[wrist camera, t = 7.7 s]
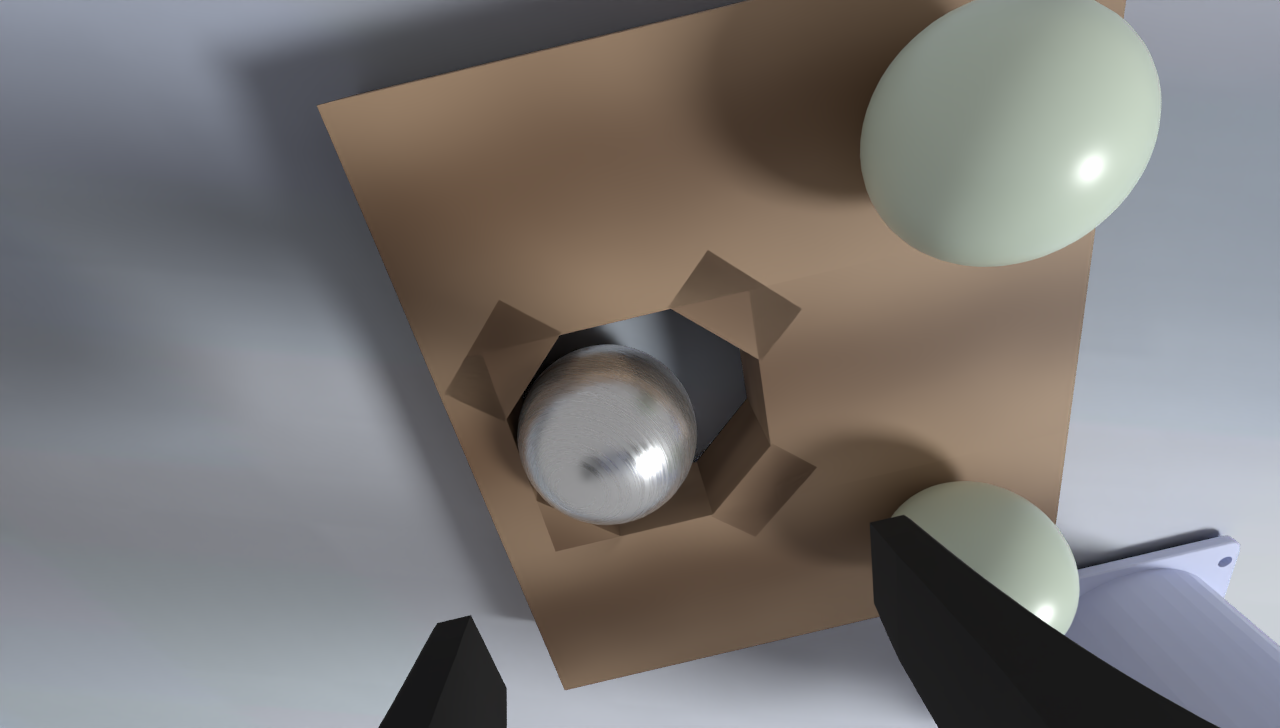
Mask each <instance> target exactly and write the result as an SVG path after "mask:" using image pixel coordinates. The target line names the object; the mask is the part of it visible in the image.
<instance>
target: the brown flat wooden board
mask: <svg viewBox="0 0 1280 728" xmlns="http://www.w3.org/2000/svg"><path fill="white" fill-rule="evenodd" d="M971 1H974V0H747V1H743V2H739V3H734V4H730V5H726V6H722V7H718V8H714V9H710V10H705V11H701V12H697V13H693V14H689V15H685V16H680V17H676V18H672V19H668V20H664V21H660V22H656V23H651V24H647V25H643V26H639V27H635V28H631V29H626V30H622V31H618V32H614V33H610V34H606V35H602V36H597V37H593V38H589V39H585V40H581V41H577V42H572V43H568V44H564V45H560V46H556V47H552V48H548V49H543V50H539V51H535V52H531V53H527V54H523V55H518V56H514V57H510V58H506V59H502V60H498V61H494V62H489V63H485V64H481V65H477V66H473V67H469V68H464V69H460V70H456V71H452V72H448V73H444V74H440V75H435V76H431V77H427V78H423V79H419V80H415V81H410V82H406V83H402V84H398V85H394V86H390V87H386V88H381V89H377V90H373V91H369V92H365V93H361V94H356V95H353V96H349V97H346V98H342V99H338V100H335V101H331V102H328V103H324V104H320V105H317V107H318V110H319V112H320V114H321V117H322V119H323V121H324V124H325V126H326V128H327V131H328V133H329V135H330V138H331V140H332V143H333V145H334V147H335V150H336V152H337V154H338V157H339V159H340V161H341V164H342V166H343V168H344V171H345V173H346V176H347V178H348V180H349V183H350V185H351V187H352V190H353V192H354V194H355V197H356V199H357V201H358V204H359V206H360V209H361V211H362V213H363V216H364V218H365V220H366V223H367V225H368V227H369V230H370V232H371V234H372V237H373V239H374V242H375V244H376V246H377V249H378V251H379V253H380V256H381V258H382V260H383V263H384V265H385V267H386V270H387V272H388V275H389V277H390V279H391V282H392V284H393V286H394V289H395V291H396V293H397V296H398V298H399V301H400V303H401V305H402V308H403V310H404V312H405V315H406V317H407V319H408V322H409V324H410V326H411V329H412V331H413V334H414V336H415V338H416V341H417V343H418V345H419V348H420V350H421V352H422V355H423V357H424V359H425V362H426V364H427V367H428V369H429V371H430V374H431V376H432V378H433V381H434V383H435V385H436V388H437V390H438V392H439V395H440V397H441V400H442V402H443V404H444V407H445V409H446V411H447V414H448V416H449V418H450V421H451V423H452V425H453V428H454V430H455V433H456V435H457V437H458V440H459V442H460V444H461V447H462V449H463V451H464V454H465V456H466V458H467V461H468V463H469V466H470V468H471V470H472V473H473V475H474V477H475V480H476V482H477V484H478V487H479V489H480V492H481V494H482V496H483V499H484V501H485V503H486V506H487V508H488V510H489V513H490V515H491V517H492V520H493V522H494V525H495V527H496V529H497V532H498V534H499V536H500V539H501V541H502V543H503V546H504V548H505V550H506V553H507V555H508V558H509V560H510V562H511V565H512V567H513V569H514V572H515V574H516V576H517V579H518V581H519V583H520V586H521V588H522V591H523V593H524V595H525V598H526V600H527V602H528V605H529V607H530V609H531V612H532V614H533V616H534V619H535V621H536V624H537V626H538V628H539V631H540V633H541V635H542V638H543V640H544V642H545V645H546V647H547V649H548V652H549V654H550V657H551V659H552V661H553V664H554V666H555V668H556V671H557V673H558V675H559V678H560V680H561V683H562V685H563V687H564V690H568V689H572V688H577V687H581V686H585V685H589V684H594V683H598V682H602V681H607V680H611V679H615V678H619V677H624V676H628V675H632V674H636V673H641V672H645V671H649V670H654V669H658V668H662V667H666V666H671V665H675V664H679V663H683V662H688V661H692V660H696V659H701V658H705V657H709V656H713V655H718V654H722V653H726V652H730V651H735V650H739V649H743V648H747V647H752V646H756V645H760V644H765V643H769V642H773V641H777V640H782V639H786V638H790V637H794V636H799V635H803V634H807V633H812V632H816V631H820V630H824V629H829V628H833V627H837V626H841V625H846V624H850V623H854V622H859V621H863V620H867V619H871V618H876V617H880V616H879V614H878V611H877V609H876V607H875V605H874V596H873V577H872V558H871V539H870V522H875V521H879V520H883V519H887V518H891V517H892V515H893V514H894V512H895V511H896V510H897V509H898V508H899V507H900V506H901V505H902V504H903V503H904V502H905V501H906V500H908V499H909V498H910V497H912V496H913V495H915V494H917V493H918V492H920V491H922V490H924V489H926V488H929V487H931V486H934V485H938V484H942V483H947V482H956V481H973V482H981V483H987V484H991V485H995V486H998V487H1001V488H1004V489H1007V490H1009V491H1011V492H1013V493H1015V494H1017V495H1019V496H1021V497H1023V498H1025V499H1026V500H1028V501H1029V502H1031V503H1032V504H1034V505H1035V506H1036V507H1038V508H1039V509H1040V510H1041V511H1042V512H1043V513H1045V514H1046V515H1047V516H1048V517H1049V519H1050V520H1051V521H1052V522H1053V523H1054V524H1055V525H1056V518H1057V511H1058V503H1059V496H1060V488H1061V481H1062V473H1063V466H1064V458H1065V451H1066V443H1067V436H1068V429H1069V421H1070V414H1071V406H1072V399H1073V391H1074V384H1075V376H1076V369H1077V362H1078V354H1079V347H1080V339H1081V332H1082V324H1083V317H1084V309H1085V302H1086V294H1087V287H1088V280H1089V272H1090V265H1091V257H1092V250H1093V242H1094V235H1095V228H1094V229H1093V230H1092V231H1091V232H1089V233H1088V234H1086V235H1085V236H1083V237H1082V238H1080V239H1079V240H1077V241H1075V242H1073V243H1072V244H1070V245H1068V246H1066V247H1064V248H1062V249H1060V250H1058V251H1055V252H1053V253H1051V254H1048V255H1046V256H1043V257H1040V258H1037V259H1034V260H1030V261H1027V262H1022V263H1017V264H1012V265H1006V266H993V267H975V266H964V265H959V264H954V263H950V262H946V261H942V260H939V259H936V258H934V257H931V256H929V255H927V254H924V253H922V252H920V251H918V250H917V249H915V248H913V247H912V246H910V245H908V244H907V243H906V242H905V241H903V240H902V239H901V238H900V237H899V236H897V235H896V234H895V233H894V232H893V231H892V230H891V229H890V228H889V227H888V226H887V225H886V223H885V222H884V221H883V220H882V218H881V217H880V216H879V214H878V212H877V211H876V209H875V207H874V206H873V204H872V202H871V200H870V197H869V195H868V193H867V190H866V187H865V183H864V179H863V175H862V170H861V161H860V140H861V133H862V126H863V122H864V118H865V114H866V110H867V108H868V105H869V102H870V100H871V97H872V95H873V93H874V91H875V89H876V87H877V85H878V83H879V81H880V79H881V77H882V76H883V74H884V73H885V71H886V70H887V68H888V67H889V65H890V64H891V62H892V61H893V60H894V59H895V57H896V56H897V55H898V54H899V53H900V51H901V50H902V49H903V48H904V47H905V46H906V45H907V44H908V43H909V42H910V41H911V40H912V39H913V38H914V37H915V36H917V35H918V34H919V33H920V32H921V31H923V30H924V29H925V28H926V27H928V26H929V25H930V24H931V23H933V22H934V21H936V20H937V19H939V18H940V17H942V16H944V15H945V14H947V13H948V12H950V11H952V10H954V9H956V8H959V7H961V6H963V5H965V4H967V3H969V2H971ZM1095 1H1097V2H1098V3H1100V4H1102V5H1103V6H1105V7H1107V8H1109V9H1110V10H1112V11H1114V12H1115V13H1117V14H1118V15H1119V16H1120V17H1122V18H1123V19H1124V11H1125V4H1126V0H1095ZM668 309H672V310H674V311H676V312H677V313H679V314H681V315H682V316H684V317H686V318H688V319H689V320H691V321H693V322H695V323H696V324H698V325H700V326H702V327H703V328H705V329H707V330H708V331H710V332H712V333H714V334H715V335H717V336H719V337H721V338H722V339H724V340H726V341H728V342H729V343H731V344H733V345H734V346H736V347H738V348H739V349H740V356H741V362H742V369H743V375H744V382H745V388H746V395H747V399H746V400H745V402H744V403H743V404H742V405H741V407H740V408H739V409H738V410H737V412H736V413H735V414H734V415H733V417H732V418H731V419H730V420H729V422H728V423H727V424H726V425H725V427H724V428H723V429H722V430H721V432H720V433H719V434H718V436H717V437H716V438H715V439H714V441H713V442H712V443H711V444H710V446H709V447H708V448H707V449H706V451H705V452H704V453H703V454H702V456H701V457H700V458H699V459H698V461H697V462H693V463H692V465H691V468H690V470H689V472H688V474H687V476H686V478H685V480H684V482H683V483H682V485H681V486H680V488H679V489H678V490H677V492H676V493H675V494H674V495H673V496H672V497H671V498H670V499H669V500H668V501H667V502H666V503H665V504H664V505H662V506H661V507H660V508H658V509H657V510H655V511H654V512H652V513H650V514H648V515H647V516H645V517H642V518H640V519H637V520H634V521H631V522H627V523H623V524H613V525H598V524H591V523H587V522H583V521H579V520H576V519H573V518H571V517H569V516H567V515H565V514H563V513H561V512H560V511H558V510H556V509H555V508H554V507H552V506H551V505H550V504H549V503H548V502H547V501H545V500H544V499H543V498H542V496H541V495H540V494H539V493H538V492H537V491H536V489H535V488H534V487H533V485H532V484H531V482H530V480H529V479H528V477H527V475H526V472H525V470H524V468H523V465H522V462H521V459H520V454H519V449H518V441H517V433H518V421H519V416H520V411H521V408H522V405H523V402H524V400H523V397H522V394H523V392H524V391H525V389H526V388H527V386H528V384H529V383H530V381H531V380H532V378H533V376H534V375H535V373H536V372H537V370H538V369H539V367H540V365H541V364H542V362H543V361H544V359H545V358H546V356H547V354H548V353H549V351H550V350H551V348H552V347H553V345H554V343H555V342H556V340H557V339H558V337H559V336H560V335H563V334H567V333H571V332H575V331H579V330H584V329H588V328H592V327H596V326H600V325H605V324H609V323H613V322H617V321H621V320H626V319H630V318H634V317H638V316H642V315H647V314H651V313H655V312H659V311H663V310H668Z"/></svg>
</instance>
